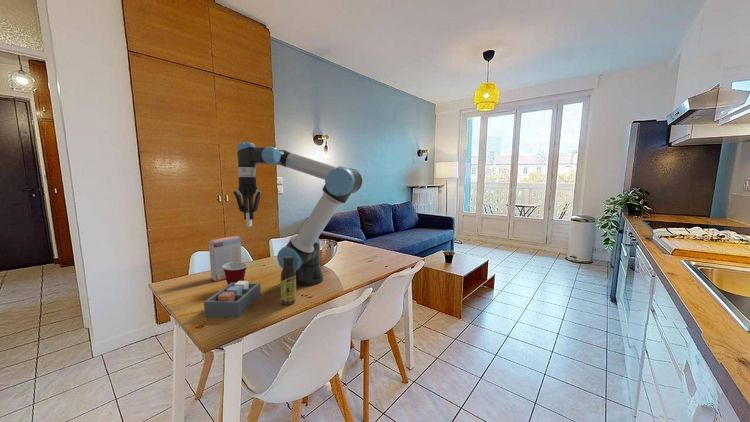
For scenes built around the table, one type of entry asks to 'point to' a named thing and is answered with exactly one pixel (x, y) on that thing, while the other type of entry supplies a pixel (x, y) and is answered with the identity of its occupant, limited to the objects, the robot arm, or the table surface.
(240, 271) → the plastic cup
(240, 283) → the white block
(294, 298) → the sauce bottle
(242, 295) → the grey compartment tray
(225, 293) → the salmon red block
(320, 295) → the table surface
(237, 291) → the light blue block
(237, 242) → the cracker box
